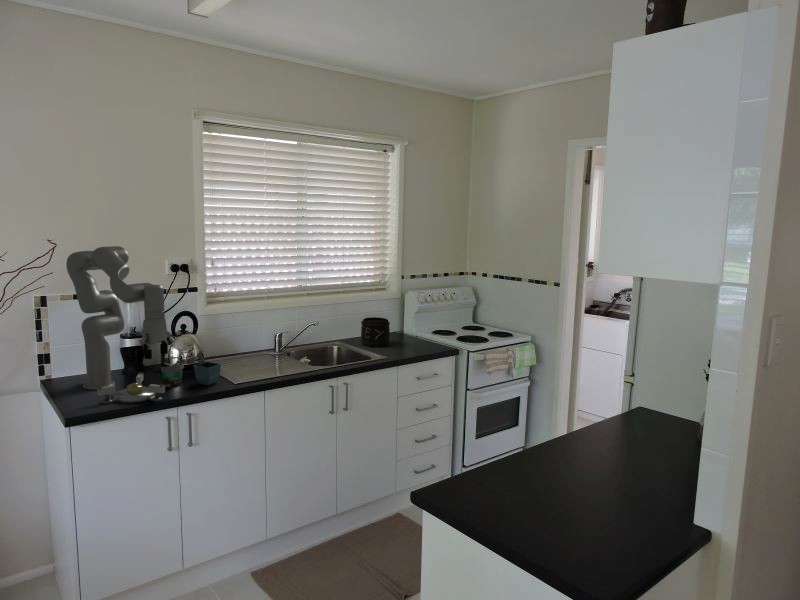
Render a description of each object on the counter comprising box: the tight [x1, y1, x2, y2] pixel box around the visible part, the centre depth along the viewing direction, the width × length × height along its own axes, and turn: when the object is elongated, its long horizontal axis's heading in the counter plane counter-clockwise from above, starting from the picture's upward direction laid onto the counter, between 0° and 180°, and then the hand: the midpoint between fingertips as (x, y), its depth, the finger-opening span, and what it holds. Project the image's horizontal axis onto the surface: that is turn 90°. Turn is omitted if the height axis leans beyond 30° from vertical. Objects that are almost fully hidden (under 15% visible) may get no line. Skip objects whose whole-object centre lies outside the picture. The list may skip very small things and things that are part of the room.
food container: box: [161, 360, 185, 389], centre depth 259 cm, size 12×6×10 cm, turn 168°
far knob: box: [148, 383, 166, 398], centre depth 238 cm, size 6×2×6 cm, turn 74°
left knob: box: [135, 372, 144, 385], centre depth 252 cm, size 6×2×6 cm, turn 14°
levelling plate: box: [100, 382, 164, 405], centre depth 241 cm, size 21×24×6 cm
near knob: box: [96, 385, 117, 400], centre depth 233 cm, size 6×2×6 cm, turn 134°
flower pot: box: [193, 361, 222, 386], centre depth 263 cm, size 9×9×9 cm
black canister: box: [360, 316, 391, 348], centre depth 354 cm, size 18×18×16 cm
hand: (156, 356), depth 236 cm, fingers open, 9 cm apart
